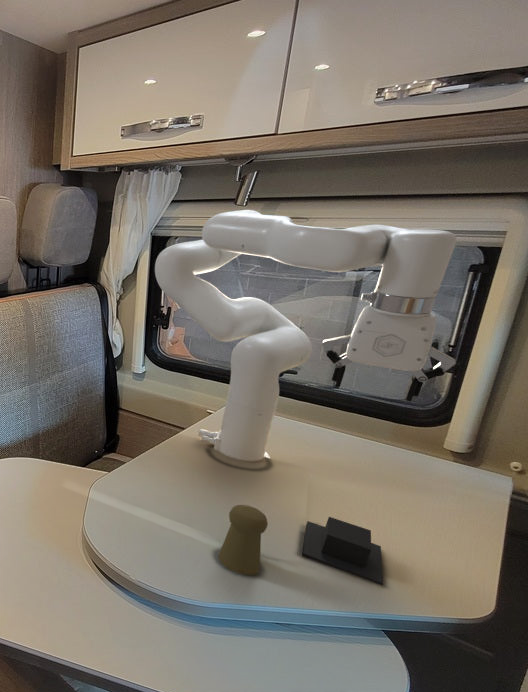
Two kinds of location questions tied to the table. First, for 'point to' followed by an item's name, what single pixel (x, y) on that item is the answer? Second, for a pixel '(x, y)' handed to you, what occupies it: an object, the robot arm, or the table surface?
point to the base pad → (313, 552)
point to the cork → (243, 540)
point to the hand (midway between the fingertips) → (371, 391)
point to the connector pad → (346, 542)
